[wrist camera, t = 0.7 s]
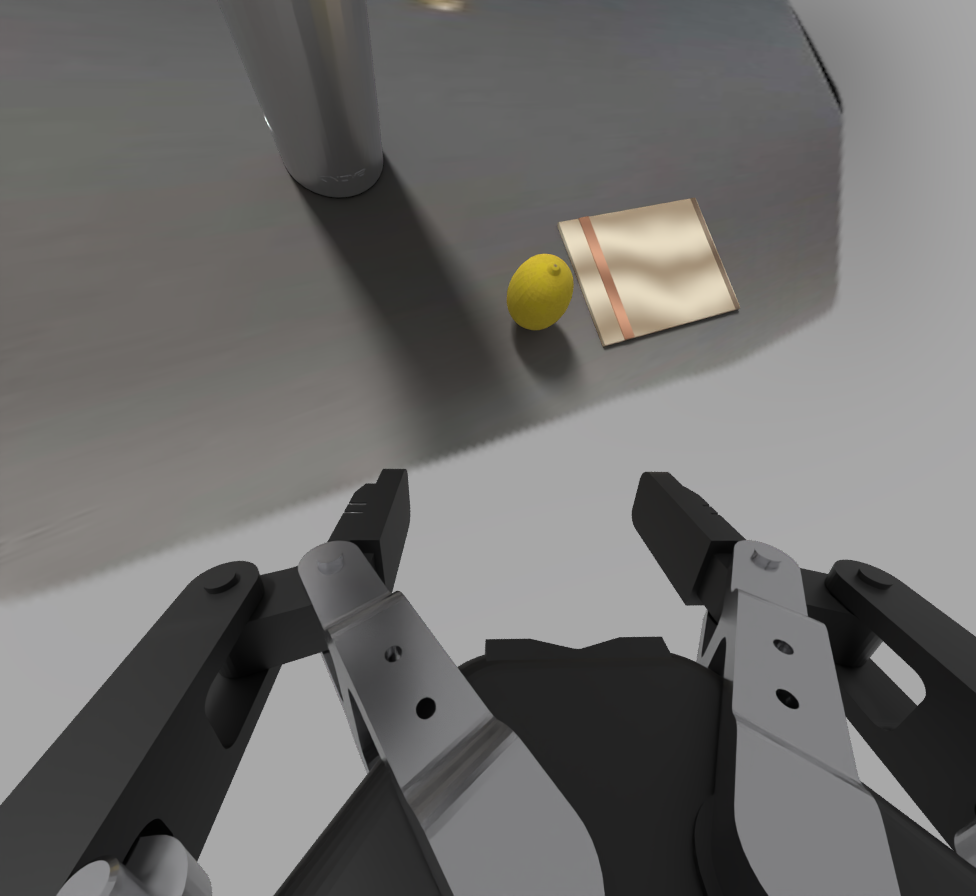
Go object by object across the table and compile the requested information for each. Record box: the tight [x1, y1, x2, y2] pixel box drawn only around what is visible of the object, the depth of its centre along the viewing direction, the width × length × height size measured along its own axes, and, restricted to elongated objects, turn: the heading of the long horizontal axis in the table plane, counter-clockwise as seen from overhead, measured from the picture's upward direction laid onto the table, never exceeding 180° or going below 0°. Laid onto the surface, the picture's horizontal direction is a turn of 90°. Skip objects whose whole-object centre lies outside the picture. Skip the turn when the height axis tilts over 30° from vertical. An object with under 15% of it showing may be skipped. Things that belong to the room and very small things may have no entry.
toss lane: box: [557, 198, 740, 347], centre depth 38 cm, size 14×18×1 cm
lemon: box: [507, 254, 574, 330], centre depth 31 cm, size 6×6×8 cm
